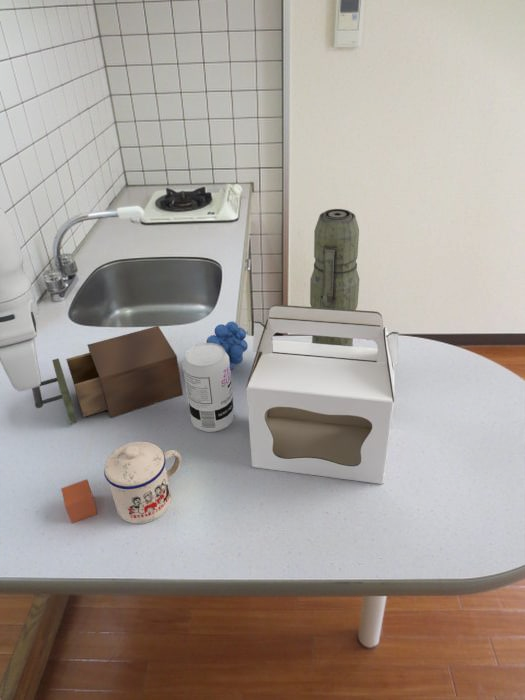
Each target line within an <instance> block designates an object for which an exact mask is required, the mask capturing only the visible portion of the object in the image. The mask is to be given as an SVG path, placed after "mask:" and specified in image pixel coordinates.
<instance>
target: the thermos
mask: <svg viewBox="0 0 525 700" xmlns="http://www.w3.org/2000/svg"><path fill="white" fill-rule="evenodd" d="M313 235H314V238H313V241H314V242H313V243H314V244H313V246H314V247H313V257H314V262H313V271H312V274H311V275H310V276H311V277H310V281H309V283H310V285H309V288H310V289H309V296H310V297H309V302H310V303H309V305H310V307H317V308H332V309H346V310H357V308H358V306H359V305H358V304H359V291H360V276H359V273H358V263H357V260H358V255H359V254H358V253H359V242H360V241H359V239H360V238H359V236H360V228H359V224H358V220H357V217H356V215H355V213H353V212H352V211H350V210H348V209H343V208H331V209H327V210H325V211H323V212H321V213H320V214H319V216H318V219H317V221H316V224H315V228H314V234H313ZM353 342H354V338H342V337H330V336H317V335H311V343H316V344H328V345H340V346H352V347H353Z"/></svg>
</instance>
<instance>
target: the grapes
mask: <svg viewBox="0 0 525 700" xmlns="http://www.w3.org/2000/svg"><path fill="white" fill-rule="evenodd" d="M246 337H247V332H246V330H245V329H244V328H243V327H240V326H239V325H238V324H237V322H236V321H233V320H232V321H228V322H227V323H226V324H223V323H221V324H217V325H216V326H215V328H214V334H212V335H209V336H208V337H207V338H206V342H205V343H214V344H218V345H220V346H222V347H223V349H224V350H225V352H226V353H227V355H228V356H229V361H230V372H231V371H233V370H234V368H235V365H240V364H241V363H242V362H243V360H244V356H243V355H244V353H245V352H246V351H247V350H248V342H247V341H246V340H245V338H246Z"/></svg>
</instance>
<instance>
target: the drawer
mask: <svg viewBox="0 0 525 700" xmlns="http://www.w3.org/2000/svg"><path fill="white" fill-rule="evenodd" d="M65 360H66V363H67V366H68V370H69V373H70V377H71V380H72V383H73V388H74V390H75V394H76V396H77V400H78V404H79V406H80V410H81V413H82V416H83V417H84V418H85V417H88V416H91V415H94V414H97V413H101V412H104V411H106V410H107V411H108V407H107V403H106V399H105V396H104V392H103V388H102V385H101V381H100V378H99V375H98V372H97V370H96V367H95V364H94V362H93V359H92V356H91V354H90V352H87V353H83V354H80V355H76V356H72V357H68V358H66V359H65ZM51 361H52V365H53V369H54V372H55V377H53V378H50V379H46V380H43V381H42V380H41V384H40V386H38V387H35V388H31V391H32V397H33V402H34V406H35V408H37V409H40V408H42V407H43V406H44V405H46V404H49V403H52V402H56V401H59V400H62V401H63V404H64V407H65V410H66V413H67V417H68V419H69V422H70V425H75V424H78V419H77V415H76V412H75V408H74V404H73V400H72V397H71V394H70V390H69V386H68V384H67V380H66V378H65V375H64V371H63V368H62V365H61V361H60V359H59V358H55V359H52V360H51ZM53 383H57V385H58V388H59V391H60V394H58V395H55V396H52V397H49V398H48V397H47V398H45V399H43V396H42V391H41V387H44V386H47V385H50V384H53Z"/></svg>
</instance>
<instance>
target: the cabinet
mask: <svg viewBox="0 0 525 700" xmlns="http://www.w3.org/2000/svg"><path fill="white" fill-rule="evenodd" d="M87 349H88V353H90V354H91V356H92V359H93V362H94V364H95V367H96V370H97V372H98V375H99V378H100V381H101V385H102V388H103V392H104V396H105V399H106V403H107V407H108V409H107V411H108V412H107V413H108V415H109V418H115V417H118V416H121V415H124V414H128V413H130V412H134V411H137V410H140V409H143V408H146V407H149V406H152V405H155V404H159V403H162V402H164V401H168V400H172V399H174V398H177V397H180V396H183V395H184V393H183V386H182V379H181V375H180V367H179V360H178V355H177V354H176V352H175V351H174V349H173V347H172V346H171V344H170V342H169V340H168V339H167V338H166V336H165V335H164V333H163V331H162V330H161V328H160V326H159V325H155V326H152V327H147V328H144V329H142V330H137V331H134V332H130V333H126V334H122V335H117V336H115V337H112V338H108V339H103V340H100V341H97V342H93V343H89V344H87Z"/></svg>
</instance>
